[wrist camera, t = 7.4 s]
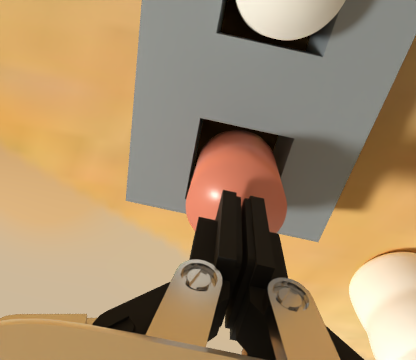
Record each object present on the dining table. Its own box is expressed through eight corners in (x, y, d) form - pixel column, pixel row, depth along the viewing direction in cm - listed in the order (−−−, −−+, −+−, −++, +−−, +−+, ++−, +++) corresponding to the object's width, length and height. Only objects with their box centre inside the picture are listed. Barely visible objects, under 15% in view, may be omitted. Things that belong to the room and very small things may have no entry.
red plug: (285, 139, 16) (301, 176, 12) (262, 207, 18) (269, 258, 14) (205, 122, 16) (195, 153, 12) (191, 191, 18) (178, 238, 14)
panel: (418, -66, 14) (477, -96, 11) (305, 207, 22) (318, 241, 18) (175, -121, 14) (155, -170, 11) (144, 172, 22) (125, 200, 18)
